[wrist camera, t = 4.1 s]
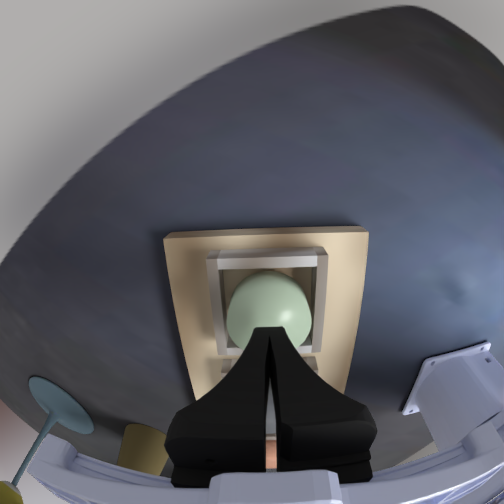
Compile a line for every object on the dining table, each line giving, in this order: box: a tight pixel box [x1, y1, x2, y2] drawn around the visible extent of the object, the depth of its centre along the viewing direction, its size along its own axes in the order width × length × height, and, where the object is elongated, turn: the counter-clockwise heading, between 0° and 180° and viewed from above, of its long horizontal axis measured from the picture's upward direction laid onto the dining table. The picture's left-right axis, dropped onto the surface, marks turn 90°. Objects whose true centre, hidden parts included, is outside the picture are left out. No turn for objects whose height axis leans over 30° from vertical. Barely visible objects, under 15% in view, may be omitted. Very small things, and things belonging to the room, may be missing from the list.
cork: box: [117, 423, 169, 476], centre depth 20 cm, size 6×6×11 cm
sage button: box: [227, 271, 312, 350], centre depth 15 cm, size 4×4×2 cm
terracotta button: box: [266, 440, 277, 468], centre depth 21 cm, size 4×4×2 cm
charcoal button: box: [266, 382, 276, 434], centre depth 18 cm, size 4×4×2 cm
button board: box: [163, 226, 369, 440], centre depth 19 cm, size 12×24×3 cm, turn 3°
